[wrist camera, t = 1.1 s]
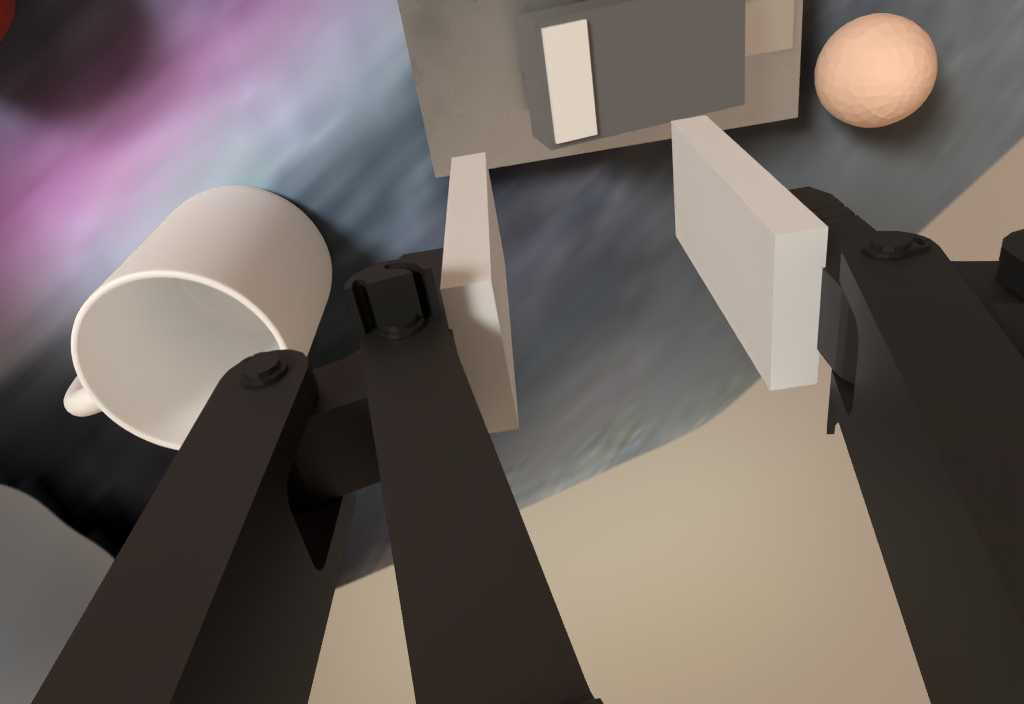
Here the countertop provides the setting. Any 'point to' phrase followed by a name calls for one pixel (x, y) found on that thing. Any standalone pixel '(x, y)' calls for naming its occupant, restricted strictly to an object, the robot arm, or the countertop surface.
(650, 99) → the block
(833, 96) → the egg
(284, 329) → the cup
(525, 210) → the countertop surface
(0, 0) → the tomato
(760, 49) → the panel
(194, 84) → the countertop surface
